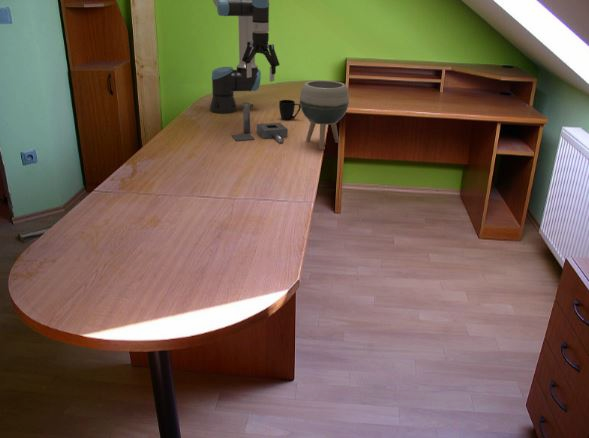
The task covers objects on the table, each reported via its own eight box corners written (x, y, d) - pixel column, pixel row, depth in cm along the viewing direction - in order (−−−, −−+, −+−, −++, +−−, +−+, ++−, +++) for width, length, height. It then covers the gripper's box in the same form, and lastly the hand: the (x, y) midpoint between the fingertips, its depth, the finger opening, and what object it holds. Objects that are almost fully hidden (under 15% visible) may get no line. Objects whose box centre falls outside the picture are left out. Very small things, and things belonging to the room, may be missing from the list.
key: (239, 132, 267) (239, 103, 261) (252, 131, 269) (251, 102, 263) (241, 134, 264) (240, 104, 258) (254, 133, 266) (253, 103, 260)
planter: (350, 140, 259) (355, 82, 247) (338, 154, 240) (343, 91, 228) (306, 135, 265) (309, 77, 253) (291, 148, 246) (293, 86, 234)
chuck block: (256, 132, 268) (256, 124, 266) (279, 130, 272) (279, 122, 270) (269, 144, 250) (269, 136, 248) (293, 142, 254) (293, 134, 252)
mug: (296, 122, 286) (296, 104, 282) (276, 119, 291) (276, 101, 287) (303, 119, 293) (303, 101, 289) (283, 116, 297) (283, 99, 293)
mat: (231, 135, 261) (231, 134, 261) (249, 134, 264) (249, 133, 263) (236, 141, 253) (236, 140, 253) (254, 139, 256) (254, 138, 256)
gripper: (234, 30, 251) (235, 76, 260) (277, 35, 238) (277, 84, 247) (244, 29, 257) (245, 74, 266) (287, 33, 244) (286, 81, 253)
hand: (260, 79), depth 257 cm, fingers open, 13 cm apart
